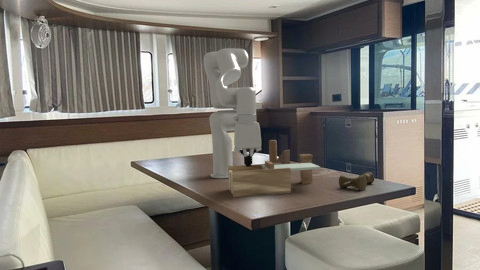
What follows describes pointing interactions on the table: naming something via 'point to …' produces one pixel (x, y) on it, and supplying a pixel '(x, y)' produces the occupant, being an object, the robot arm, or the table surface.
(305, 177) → the wooden square column
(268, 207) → the table surface
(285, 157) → the wooden block
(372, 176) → the kendama
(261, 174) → the wooden box
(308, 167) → the lid
